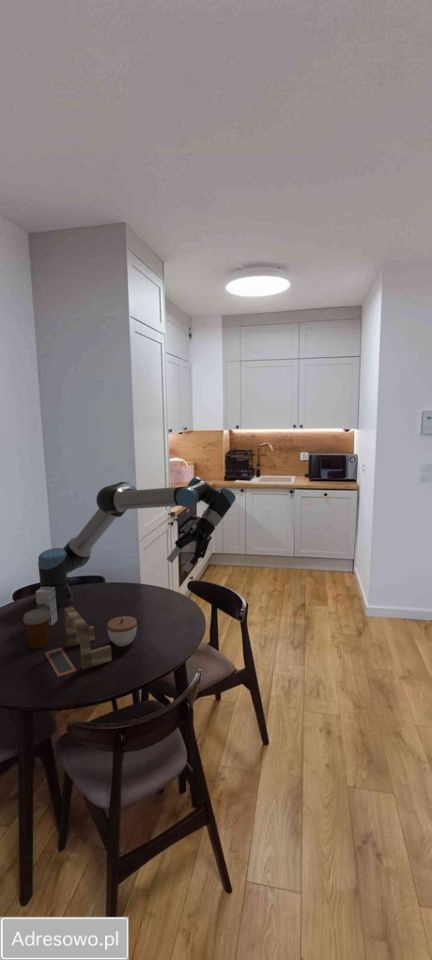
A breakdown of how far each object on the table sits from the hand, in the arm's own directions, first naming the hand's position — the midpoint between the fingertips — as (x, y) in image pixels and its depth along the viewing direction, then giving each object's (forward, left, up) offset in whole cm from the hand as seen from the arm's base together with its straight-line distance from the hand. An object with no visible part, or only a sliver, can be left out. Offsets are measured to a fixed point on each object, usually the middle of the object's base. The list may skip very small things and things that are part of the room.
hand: (177, 565), depth 176 cm
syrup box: (-33, -43, -25) cm, 59 cm away
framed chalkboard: (0, -47, -25) cm, 53 cm away
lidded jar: (0, -24, -25) cm, 34 cm away
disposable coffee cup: (-17, -50, -25) cm, 58 cm away
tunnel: (0, -37, -25) cm, 44 cm away
